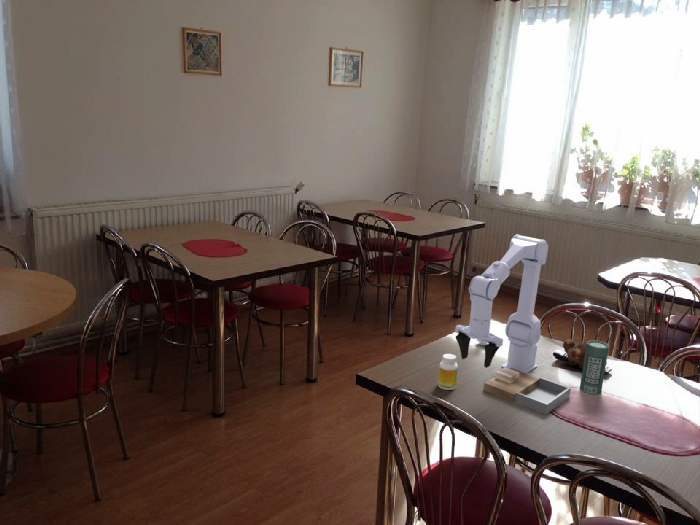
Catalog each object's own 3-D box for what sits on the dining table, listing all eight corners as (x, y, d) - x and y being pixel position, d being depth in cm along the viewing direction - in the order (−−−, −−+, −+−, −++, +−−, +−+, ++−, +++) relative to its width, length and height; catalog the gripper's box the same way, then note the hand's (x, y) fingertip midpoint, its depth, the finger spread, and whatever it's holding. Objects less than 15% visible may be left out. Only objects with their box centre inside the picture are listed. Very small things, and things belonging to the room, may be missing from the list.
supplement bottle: (455, 391, 183) (458, 361, 181) (437, 389, 184) (439, 358, 182) (456, 383, 188) (459, 353, 186) (438, 381, 189) (441, 351, 187)
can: (601, 388, 190) (609, 342, 186) (600, 396, 184) (608, 349, 180) (580, 384, 192) (587, 338, 188) (578, 392, 187) (586, 345, 183)
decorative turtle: (566, 356, 213) (570, 334, 211) (610, 370, 203) (614, 347, 201) (553, 363, 206) (556, 341, 204) (598, 379, 196) (602, 355, 194)
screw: (492, 344, 220) (487, 348, 216) (479, 341, 222) (474, 345, 218) (496, 309, 216) (491, 313, 212) (482, 306, 219) (477, 310, 215)
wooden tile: (503, 373, 191) (504, 367, 191) (518, 378, 188) (519, 372, 187) (495, 377, 187) (496, 371, 187) (510, 383, 184) (511, 377, 184)
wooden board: (510, 374, 196) (511, 367, 195) (539, 385, 189) (540, 378, 189) (483, 390, 185) (484, 382, 184) (513, 402, 178) (514, 394, 177)
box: (539, 386, 189) (540, 377, 188) (569, 397, 183) (570, 387, 182) (514, 402, 178) (515, 392, 178) (545, 414, 172) (547, 404, 171)
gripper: (451, 314, 178) (446, 358, 181) (495, 328, 168) (490, 374, 172) (464, 308, 183) (460, 351, 186) (508, 322, 173) (503, 367, 177)
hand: (475, 362), depth 180 cm, fingers open, 7 cm apart
